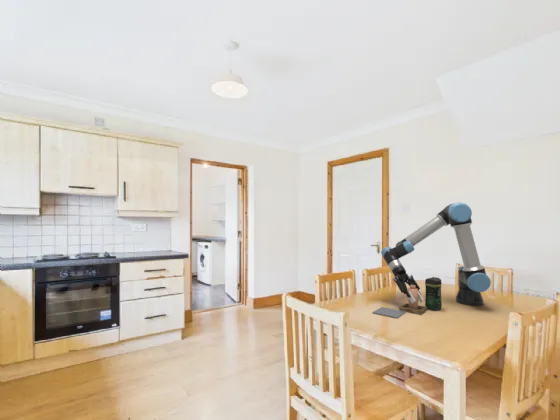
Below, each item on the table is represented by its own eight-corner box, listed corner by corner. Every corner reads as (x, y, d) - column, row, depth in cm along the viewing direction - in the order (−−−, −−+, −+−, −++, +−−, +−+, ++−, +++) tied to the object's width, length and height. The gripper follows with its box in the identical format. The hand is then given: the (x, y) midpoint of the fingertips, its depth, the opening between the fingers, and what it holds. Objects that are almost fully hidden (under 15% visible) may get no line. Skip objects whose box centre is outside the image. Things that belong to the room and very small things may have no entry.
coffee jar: (437, 311, 175) (436, 279, 176) (423, 308, 181) (422, 277, 182) (443, 308, 182) (443, 277, 182) (430, 305, 188) (429, 275, 188)
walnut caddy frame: (427, 310, 178) (427, 306, 178) (421, 315, 169) (421, 311, 169) (406, 306, 186) (406, 303, 186) (399, 310, 177) (399, 307, 177)
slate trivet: (405, 312, 174) (405, 311, 174) (397, 318, 163) (397, 317, 163) (382, 307, 183) (382, 306, 183) (372, 313, 172) (372, 312, 172)
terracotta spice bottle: (419, 307, 178) (418, 285, 179) (416, 309, 174) (416, 286, 175) (410, 305, 181) (409, 283, 182) (407, 307, 177) (406, 285, 178)
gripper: (406, 271, 196) (426, 303, 180) (382, 273, 190) (402, 306, 174) (411, 264, 191) (433, 296, 175) (388, 266, 185) (408, 299, 169)
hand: (417, 301), depth 174 cm, fingers closed on terracotta spice bottle, 5 cm apart
